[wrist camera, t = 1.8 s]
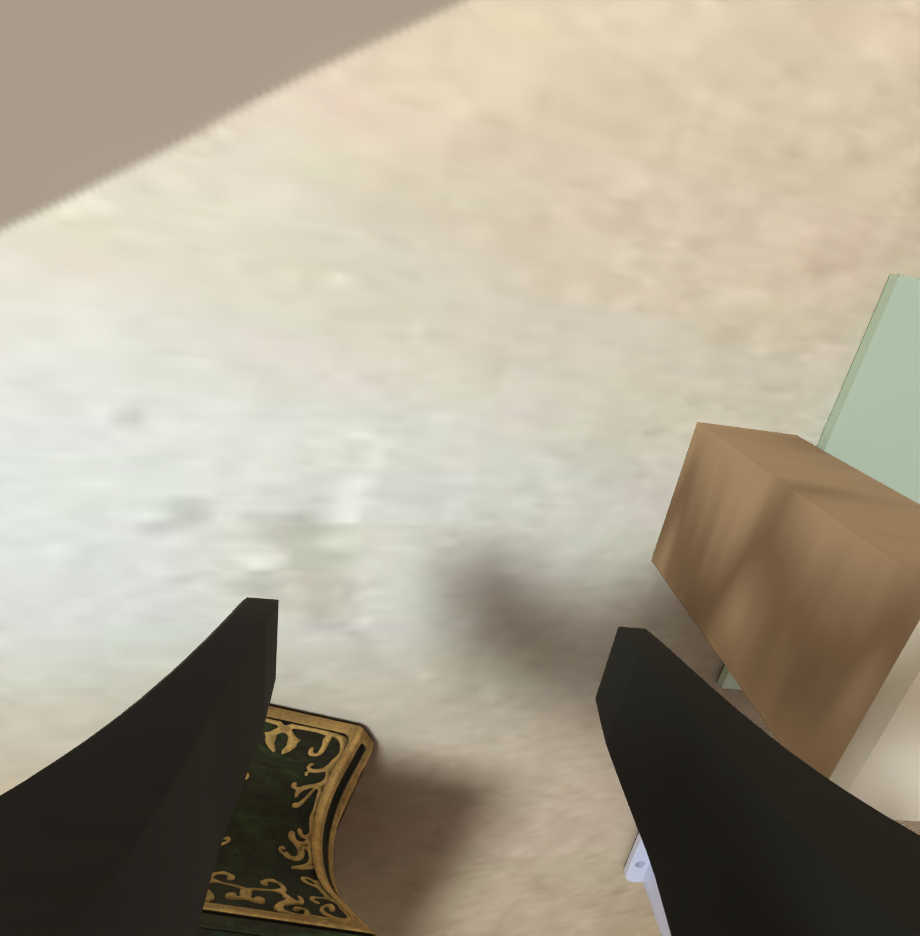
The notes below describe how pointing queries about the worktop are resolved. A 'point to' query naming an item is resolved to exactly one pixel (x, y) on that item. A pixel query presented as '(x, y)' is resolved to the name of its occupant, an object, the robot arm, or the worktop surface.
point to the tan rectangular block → (806, 601)
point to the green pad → (880, 401)
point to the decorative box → (288, 833)
